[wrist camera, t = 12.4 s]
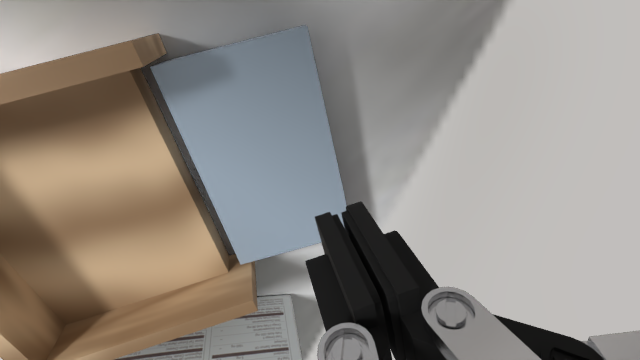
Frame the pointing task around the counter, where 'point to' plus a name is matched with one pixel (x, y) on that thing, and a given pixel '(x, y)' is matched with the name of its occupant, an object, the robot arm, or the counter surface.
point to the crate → (103, 216)
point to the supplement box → (237, 337)
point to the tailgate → (258, 139)
